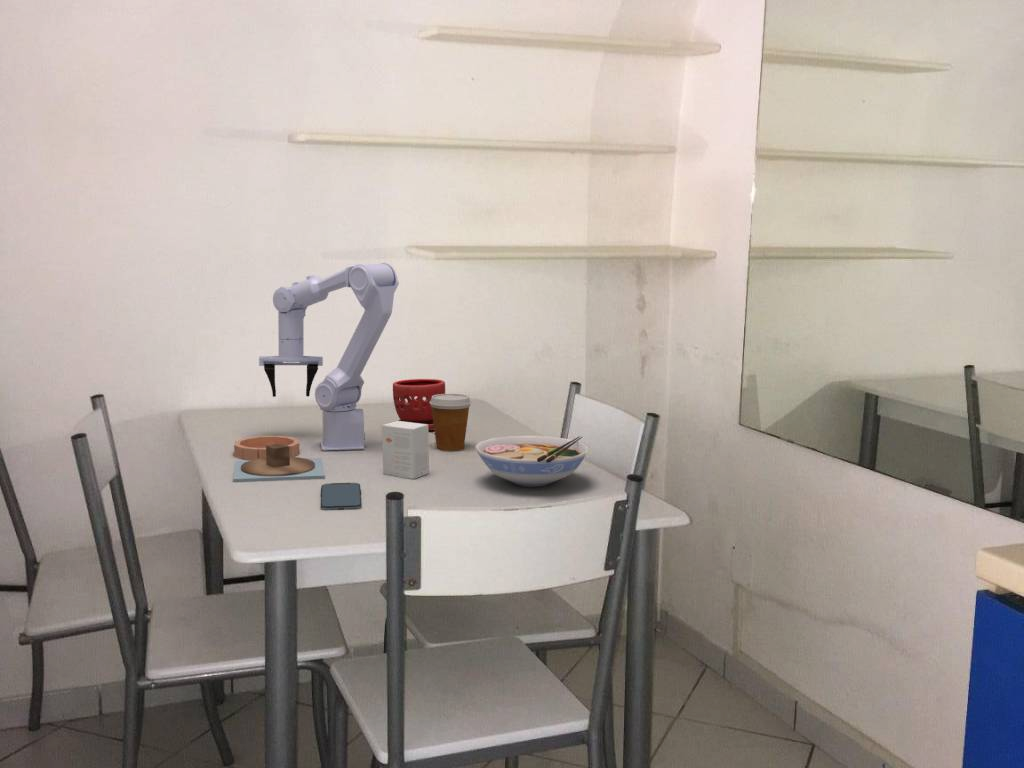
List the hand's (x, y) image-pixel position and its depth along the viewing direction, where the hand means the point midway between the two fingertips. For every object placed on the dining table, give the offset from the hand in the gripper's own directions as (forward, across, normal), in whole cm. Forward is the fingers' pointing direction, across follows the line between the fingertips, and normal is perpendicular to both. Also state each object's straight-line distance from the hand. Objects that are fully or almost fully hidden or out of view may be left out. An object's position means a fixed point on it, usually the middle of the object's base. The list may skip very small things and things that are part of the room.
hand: (291, 395), depth 250 cm
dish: (+10, +5, +14) cm, 19 cm away
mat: (+10, +3, +32) cm, 33 cm away
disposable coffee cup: (+10, -36, +16) cm, 40 cm away
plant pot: (+10, -32, -8) cm, 34 cm away
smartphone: (+10, -8, +56) cm, 57 cm away
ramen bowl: (+9, -46, +50) cm, 69 cm away
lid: (+9, +3, +31) cm, 33 cm away
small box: (+10, -22, +39) cm, 46 cm away
